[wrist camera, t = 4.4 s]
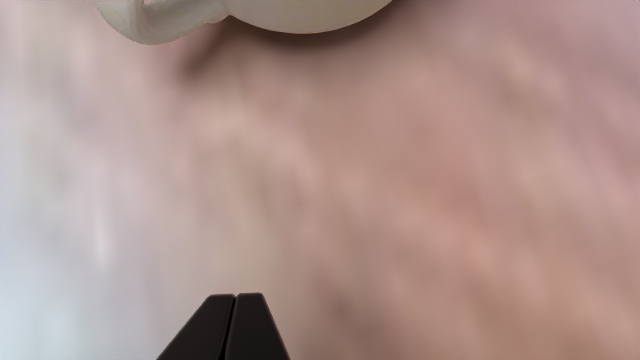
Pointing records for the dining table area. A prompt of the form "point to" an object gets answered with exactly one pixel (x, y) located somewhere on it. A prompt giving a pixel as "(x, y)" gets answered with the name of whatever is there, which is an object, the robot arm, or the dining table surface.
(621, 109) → the dining table surface
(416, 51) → the dining table surface
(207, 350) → the robot arm
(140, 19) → the teacup
